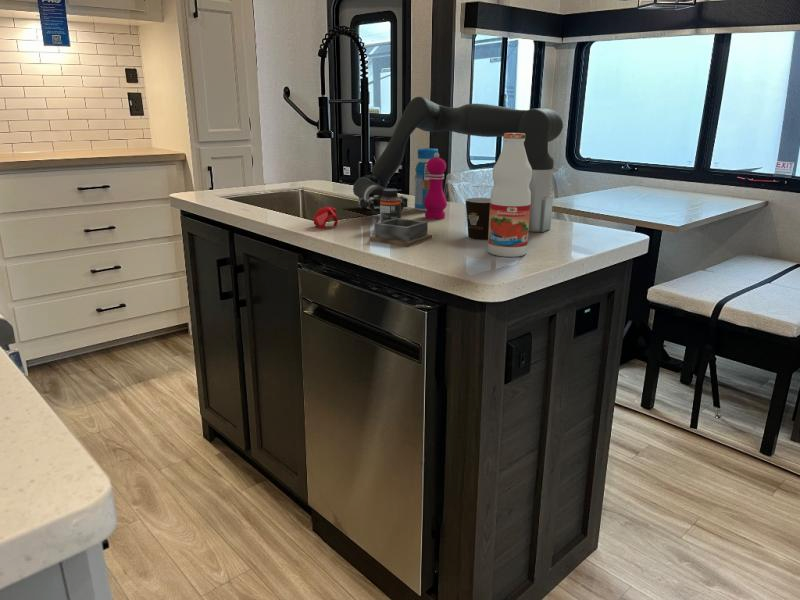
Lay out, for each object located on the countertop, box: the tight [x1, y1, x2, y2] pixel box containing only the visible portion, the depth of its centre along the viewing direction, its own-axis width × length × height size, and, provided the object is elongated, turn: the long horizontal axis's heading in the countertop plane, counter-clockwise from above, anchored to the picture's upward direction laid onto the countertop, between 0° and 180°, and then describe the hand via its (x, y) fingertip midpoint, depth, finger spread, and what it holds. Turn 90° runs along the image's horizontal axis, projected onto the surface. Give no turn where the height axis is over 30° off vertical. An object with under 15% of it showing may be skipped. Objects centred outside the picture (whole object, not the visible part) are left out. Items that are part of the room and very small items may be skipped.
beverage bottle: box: [414, 147, 439, 212], centre depth 205 cm, size 8×8×20 cm
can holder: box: [369, 218, 433, 248], centre depth 161 cm, size 12×12×4 cm
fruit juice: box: [487, 133, 532, 258], centre depth 144 cm, size 9×9×28 cm
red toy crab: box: [313, 206, 339, 229], centre depth 177 cm, size 8×6×6 cm
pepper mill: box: [424, 152, 448, 220], centre depth 191 cm, size 7×7×20 cm
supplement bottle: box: [379, 188, 402, 222], centre depth 173 cm, size 6×6×11 cm
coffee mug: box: [465, 197, 491, 241], centre depth 163 cm, size 12×9×10 cm
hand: (387, 205), depth 178 cm, fingers open, 8 cm apart
